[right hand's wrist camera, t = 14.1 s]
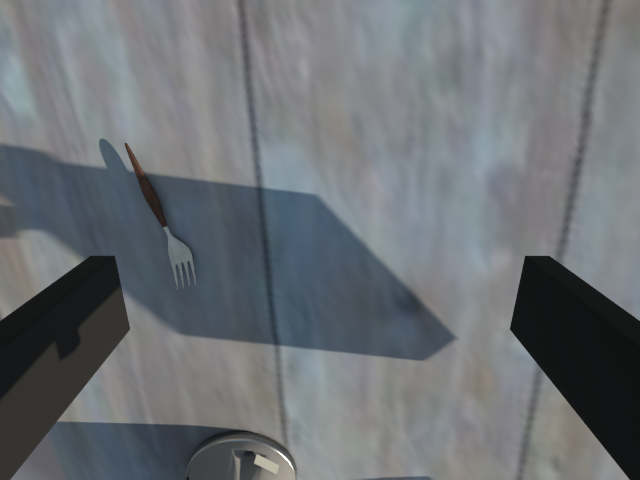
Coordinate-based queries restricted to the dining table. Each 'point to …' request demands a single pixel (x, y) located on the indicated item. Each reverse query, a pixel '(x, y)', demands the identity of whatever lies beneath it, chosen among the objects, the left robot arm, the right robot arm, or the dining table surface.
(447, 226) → the dining table surface
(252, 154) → the dining table surface
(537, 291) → the right robot arm
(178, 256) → the fork
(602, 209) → the dining table surface
